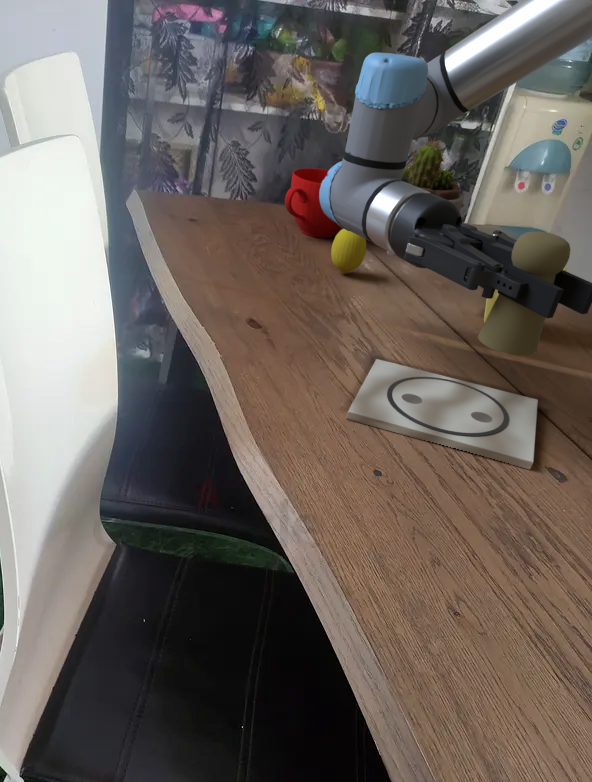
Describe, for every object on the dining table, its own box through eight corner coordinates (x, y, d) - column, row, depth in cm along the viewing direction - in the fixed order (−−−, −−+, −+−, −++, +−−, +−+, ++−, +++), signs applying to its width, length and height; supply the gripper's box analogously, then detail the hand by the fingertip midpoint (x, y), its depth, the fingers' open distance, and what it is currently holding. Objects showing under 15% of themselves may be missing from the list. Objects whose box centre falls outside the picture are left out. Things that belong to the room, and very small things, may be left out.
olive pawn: (529, 361, 73) (574, 249, 66) (470, 342, 75) (507, 232, 69) (543, 343, 77) (585, 236, 71) (486, 325, 80) (523, 221, 73)
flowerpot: (381, 231, 146) (408, 119, 134) (457, 249, 141) (491, 135, 129) (356, 247, 136) (382, 127, 124) (436, 268, 131) (472, 144, 119)
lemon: (323, 275, 121) (333, 225, 116) (331, 266, 125) (341, 217, 121) (356, 282, 120) (367, 232, 115) (363, 273, 124) (374, 224, 119)
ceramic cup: (255, 229, 138) (263, 172, 132) (313, 219, 148) (323, 165, 142) (307, 250, 131) (317, 191, 125) (364, 237, 141) (376, 182, 135)
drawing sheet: (535, 406, 90) (538, 398, 89) (530, 470, 77) (534, 460, 77) (374, 365, 94) (376, 357, 94) (346, 419, 82) (348, 410, 81)
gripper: (460, 254, 91) (616, 331, 74) (347, 262, 84) (492, 348, 67) (480, 190, 86) (650, 257, 70) (362, 192, 79) (521, 267, 63)
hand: (572, 301), depth 69 cm, fingers closed on olive pawn, 4 cm apart
